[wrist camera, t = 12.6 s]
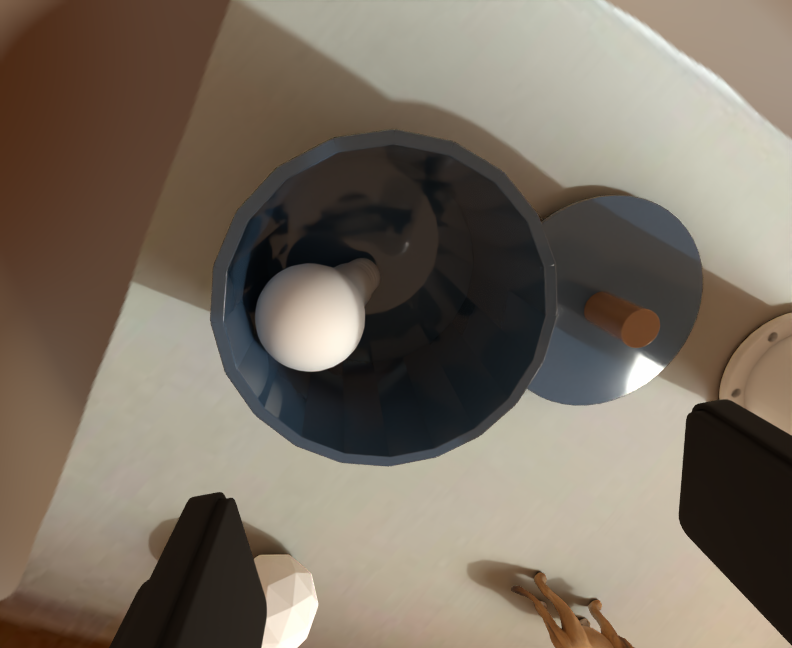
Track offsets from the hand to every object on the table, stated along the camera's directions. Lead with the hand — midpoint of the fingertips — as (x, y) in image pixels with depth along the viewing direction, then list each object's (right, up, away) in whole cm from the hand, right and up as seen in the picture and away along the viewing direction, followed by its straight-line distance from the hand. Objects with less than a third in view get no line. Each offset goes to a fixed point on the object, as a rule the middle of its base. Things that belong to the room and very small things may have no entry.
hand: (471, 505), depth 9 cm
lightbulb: (-3, +8, +23) cm, 25 cm away
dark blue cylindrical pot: (-3, +8, +24) cm, 25 cm away
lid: (+14, +5, +26) cm, 31 cm away
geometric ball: (-13, -18, +32) cm, 39 cm away
